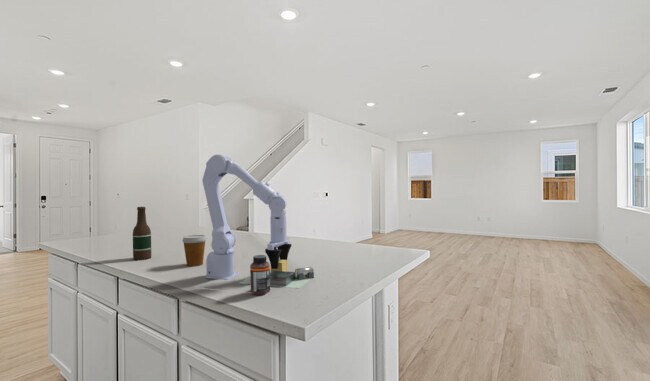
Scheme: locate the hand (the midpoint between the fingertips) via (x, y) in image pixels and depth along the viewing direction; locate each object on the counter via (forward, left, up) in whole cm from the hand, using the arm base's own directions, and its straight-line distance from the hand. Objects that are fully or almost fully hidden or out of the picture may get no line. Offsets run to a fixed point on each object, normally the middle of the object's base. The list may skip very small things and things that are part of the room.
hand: (279, 266), depth 119 cm
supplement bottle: (+2, -19, -4) cm, 19 cm away
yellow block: (0, 0, -3) cm, 3 cm away
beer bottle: (-74, +11, -4) cm, 75 cm away
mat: (+2, -5, -4) cm, 6 cm away
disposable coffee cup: (-42, +7, -4) cm, 43 cm away
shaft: (+10, -2, -4) cm, 11 cm away
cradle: (+4, -8, -4) cm, 10 cm away
